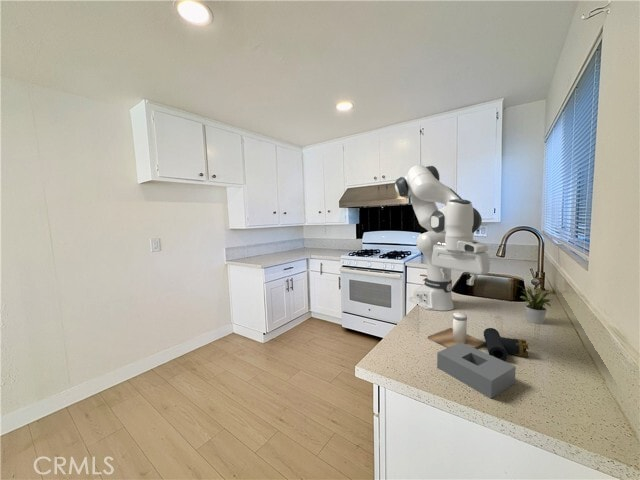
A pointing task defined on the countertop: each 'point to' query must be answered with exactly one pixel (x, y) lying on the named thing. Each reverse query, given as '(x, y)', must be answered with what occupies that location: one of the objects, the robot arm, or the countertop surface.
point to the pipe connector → (504, 345)
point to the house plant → (536, 306)
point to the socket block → (476, 369)
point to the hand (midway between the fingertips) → (457, 281)
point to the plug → (459, 327)
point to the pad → (447, 339)
